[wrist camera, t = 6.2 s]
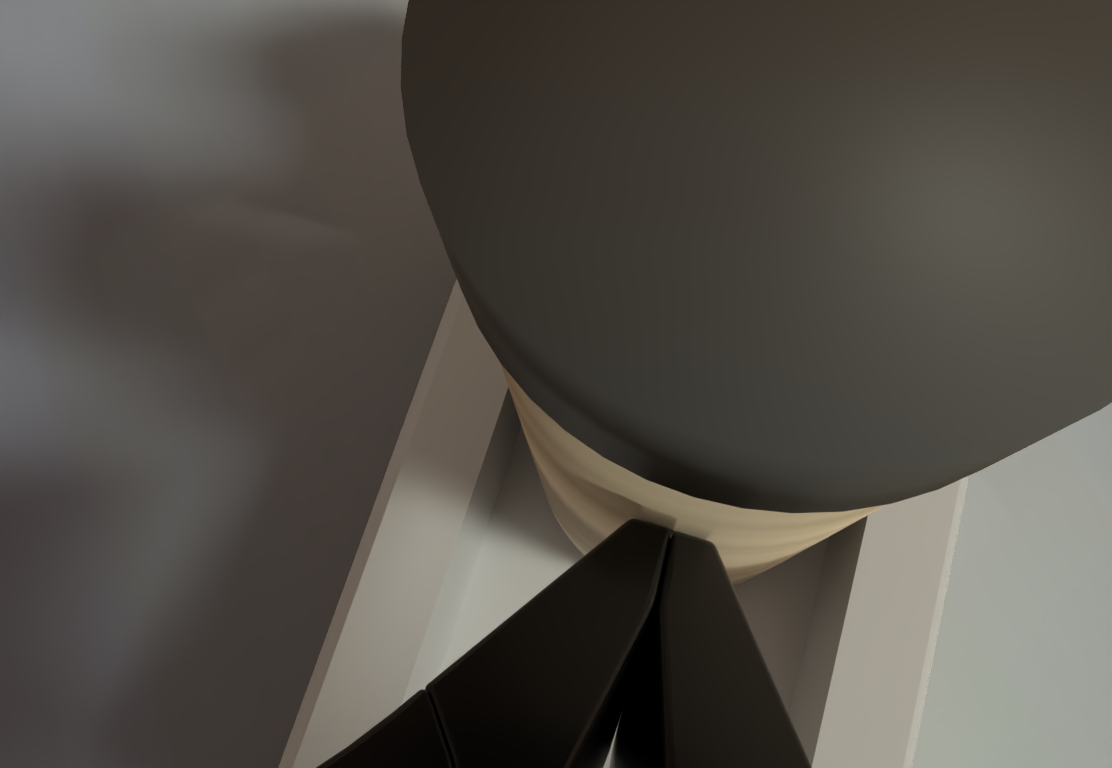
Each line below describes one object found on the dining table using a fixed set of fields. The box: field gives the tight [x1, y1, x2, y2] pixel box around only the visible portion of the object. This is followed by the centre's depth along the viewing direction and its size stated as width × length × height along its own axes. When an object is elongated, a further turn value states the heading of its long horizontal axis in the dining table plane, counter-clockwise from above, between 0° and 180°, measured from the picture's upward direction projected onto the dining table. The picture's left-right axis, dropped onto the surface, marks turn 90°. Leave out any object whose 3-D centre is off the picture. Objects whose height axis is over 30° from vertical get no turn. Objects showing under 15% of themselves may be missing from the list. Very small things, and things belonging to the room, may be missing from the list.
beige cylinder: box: [401, 0, 1112, 587], centre depth 11 cm, size 5×5×12 cm
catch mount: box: [278, 278, 969, 768], centre depth 15 cm, size 17×10×5 cm, turn 163°
